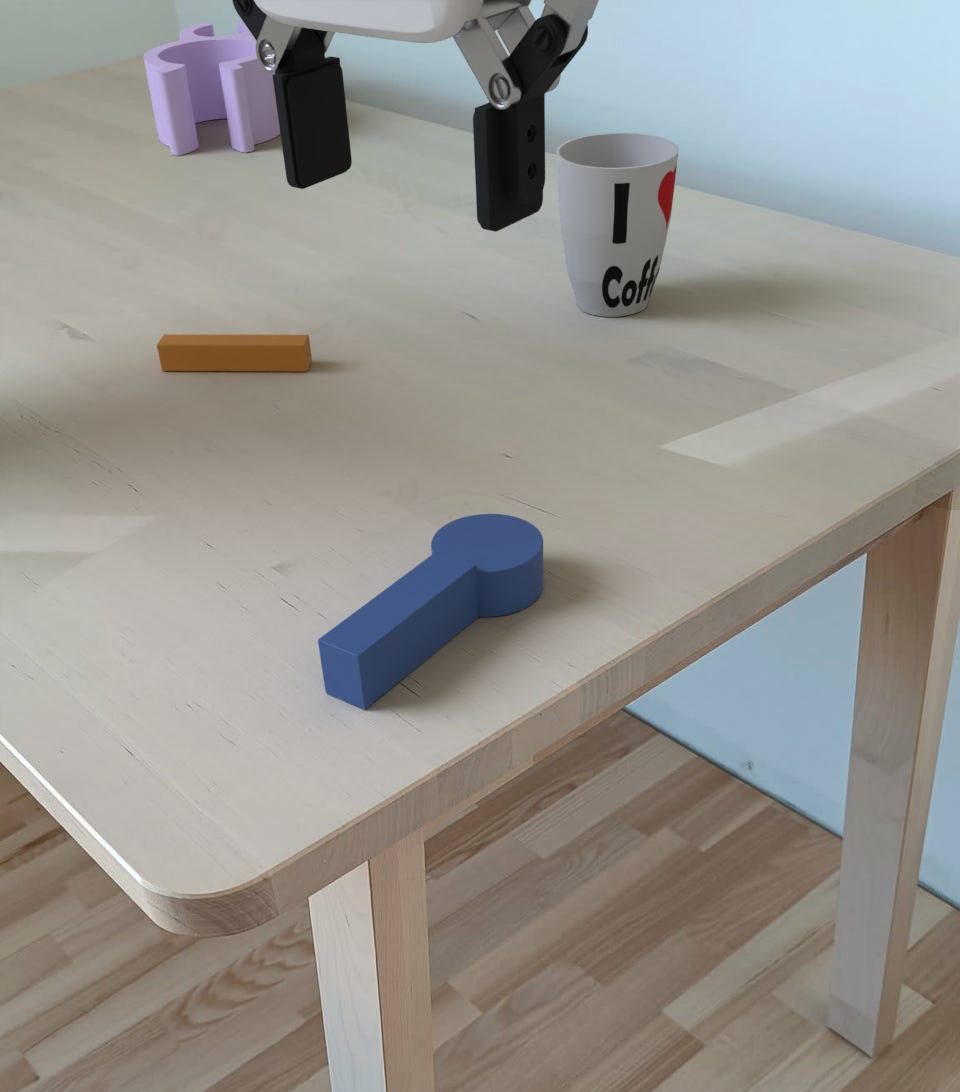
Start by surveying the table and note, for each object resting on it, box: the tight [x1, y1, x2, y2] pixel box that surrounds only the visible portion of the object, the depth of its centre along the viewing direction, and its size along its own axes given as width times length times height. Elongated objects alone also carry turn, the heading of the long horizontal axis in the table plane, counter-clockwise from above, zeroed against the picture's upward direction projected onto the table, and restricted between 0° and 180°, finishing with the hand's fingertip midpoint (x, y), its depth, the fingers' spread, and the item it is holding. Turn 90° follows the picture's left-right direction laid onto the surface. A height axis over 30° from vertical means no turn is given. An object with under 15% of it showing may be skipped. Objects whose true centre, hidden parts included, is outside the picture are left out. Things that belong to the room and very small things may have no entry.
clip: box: [142, 20, 281, 157], centre depth 126 cm, size 20×12×7 cm, turn 1°
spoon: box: [317, 513, 544, 711], centre depth 62 cm, size 14×6×3 cm, turn 145°
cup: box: [555, 132, 680, 318], centre depth 88 cm, size 8×8×10 cm
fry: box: [156, 333, 313, 373], centre depth 85 cm, size 10×2×2 cm, turn 85°
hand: (411, 198), depth 49 cm, fingers open, 9 cm apart
